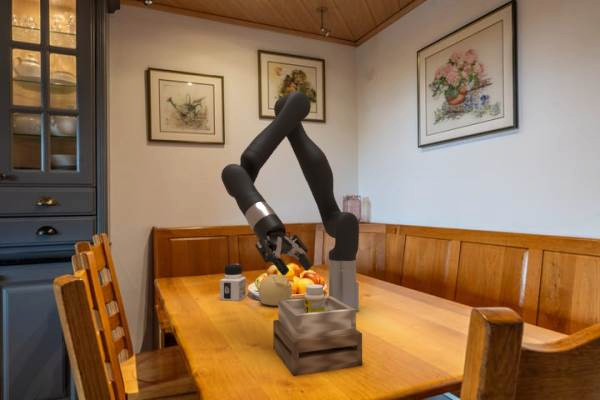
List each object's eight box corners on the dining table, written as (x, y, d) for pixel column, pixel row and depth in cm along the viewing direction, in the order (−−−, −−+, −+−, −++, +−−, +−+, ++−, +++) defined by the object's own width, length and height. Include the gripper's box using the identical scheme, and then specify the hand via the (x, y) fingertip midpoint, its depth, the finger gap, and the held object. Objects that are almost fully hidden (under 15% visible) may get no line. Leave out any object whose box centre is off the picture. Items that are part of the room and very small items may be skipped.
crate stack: (332, 341, 100) (332, 295, 100) (362, 365, 84) (362, 310, 85) (273, 348, 94) (273, 300, 95) (293, 375, 79) (293, 317, 80)
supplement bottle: (303, 319, 92) (303, 284, 92) (323, 318, 92) (323, 283, 92) (305, 325, 87) (305, 288, 87) (326, 324, 87) (325, 287, 88)
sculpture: (291, 308, 132) (291, 277, 132) (256, 308, 132) (256, 277, 133) (292, 300, 144) (292, 271, 144) (260, 300, 144) (260, 271, 144)
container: (239, 301, 143) (239, 266, 143) (219, 300, 144) (219, 265, 144) (246, 296, 150) (246, 263, 150) (227, 295, 152) (227, 262, 152)
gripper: (251, 213, 94) (286, 264, 86) (290, 212, 105) (324, 257, 97) (237, 234, 97) (270, 285, 90) (276, 231, 108) (308, 276, 101)
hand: (298, 270), depth 93 cm, fingers open, 8 cm apart
